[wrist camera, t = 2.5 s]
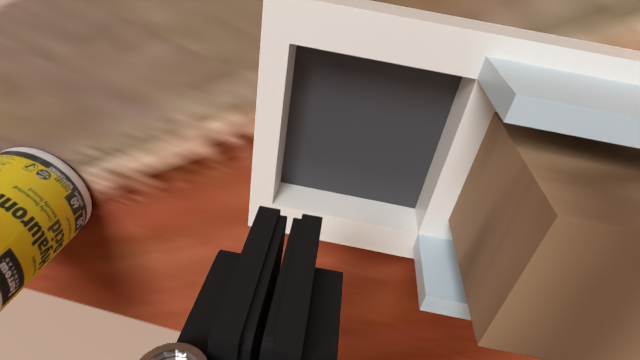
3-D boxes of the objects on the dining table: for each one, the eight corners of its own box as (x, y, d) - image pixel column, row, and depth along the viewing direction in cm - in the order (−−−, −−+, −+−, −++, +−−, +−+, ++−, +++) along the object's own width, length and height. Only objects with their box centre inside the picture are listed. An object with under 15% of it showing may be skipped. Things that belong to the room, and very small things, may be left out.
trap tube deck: (1001, 118, 14) (1301, 214, 10) (778, 303, 20) (901, 420, 15) (277, -18, 15) (230, 11, 10) (259, 200, 20) (223, 282, 16)
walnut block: (635, 138, 14) (777, 259, 9) (565, 243, 17) (645, 380, 12) (494, 111, 14) (558, 215, 9) (448, 220, 17) (477, 345, 12)
